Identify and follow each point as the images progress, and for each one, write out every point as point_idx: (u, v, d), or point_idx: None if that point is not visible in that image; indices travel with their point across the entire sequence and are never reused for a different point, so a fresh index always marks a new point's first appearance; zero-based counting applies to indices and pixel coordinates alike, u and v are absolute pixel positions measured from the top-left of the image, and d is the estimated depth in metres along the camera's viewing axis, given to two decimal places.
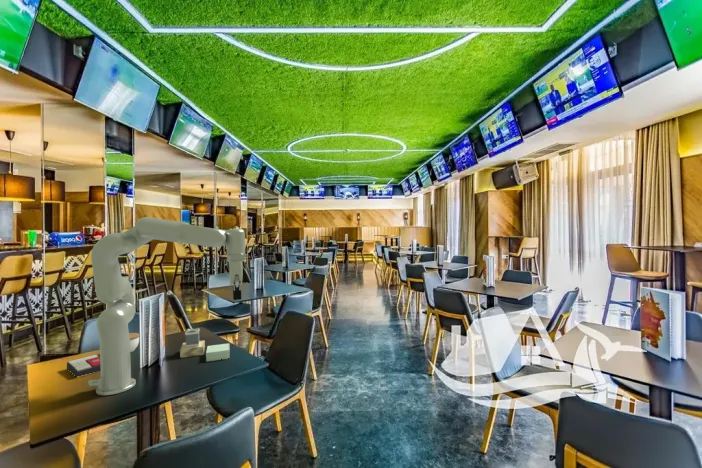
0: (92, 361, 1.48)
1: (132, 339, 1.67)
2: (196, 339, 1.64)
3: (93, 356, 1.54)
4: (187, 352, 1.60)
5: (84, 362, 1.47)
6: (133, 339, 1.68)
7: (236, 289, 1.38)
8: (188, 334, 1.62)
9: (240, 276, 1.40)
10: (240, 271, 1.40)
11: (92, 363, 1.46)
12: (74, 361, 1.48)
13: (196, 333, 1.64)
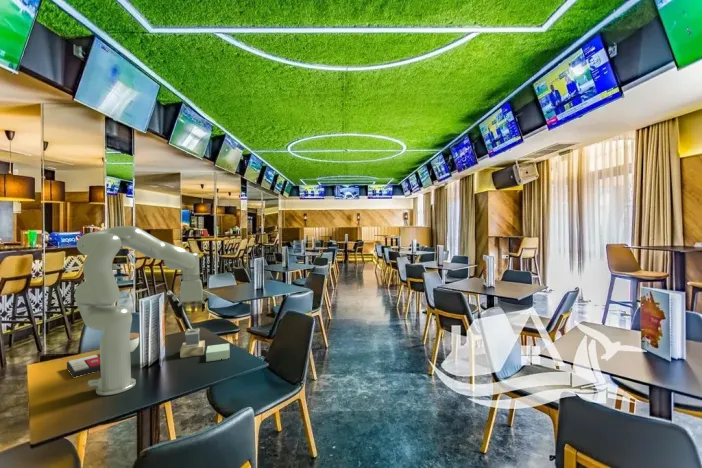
0: (91, 361, 1.48)
1: (132, 339, 1.67)
2: (196, 339, 1.64)
3: (93, 356, 1.54)
4: (187, 352, 1.60)
5: (83, 362, 1.47)
6: (133, 339, 1.68)
7: (205, 302, 1.67)
8: (188, 334, 1.62)
9: None
10: None
11: (90, 363, 1.46)
12: (74, 361, 1.48)
13: (196, 333, 1.64)
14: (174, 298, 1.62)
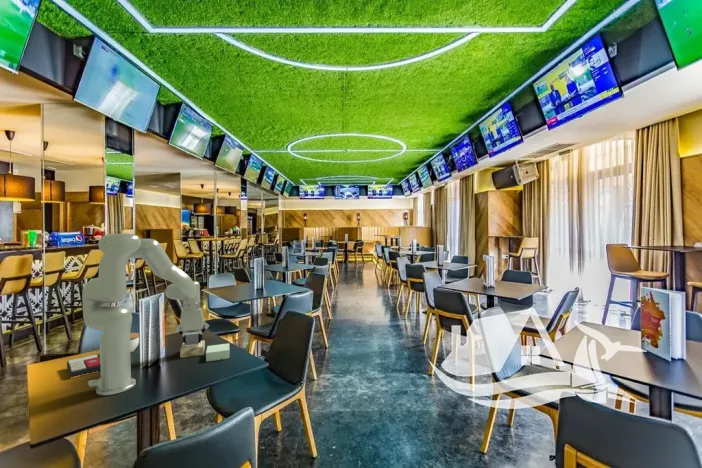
0: (89, 362, 1.47)
1: (132, 339, 1.67)
2: (196, 339, 1.64)
3: (93, 356, 1.54)
4: (187, 352, 1.60)
5: (81, 362, 1.47)
6: (133, 339, 1.68)
7: None
8: (188, 334, 1.62)
9: None
10: None
11: (88, 364, 1.45)
12: (73, 360, 1.49)
13: (196, 333, 1.64)
14: (177, 329, 1.63)
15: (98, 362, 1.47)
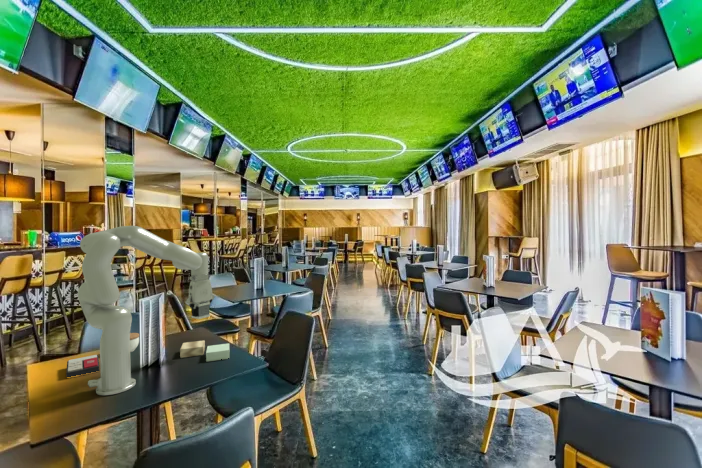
0: (87, 362, 1.47)
1: (132, 339, 1.67)
2: (207, 310, 1.64)
3: (93, 356, 1.54)
4: (187, 352, 1.60)
5: (80, 362, 1.47)
6: (133, 339, 1.68)
7: None
8: (201, 305, 1.61)
9: None
10: None
11: (85, 364, 1.45)
12: (73, 360, 1.49)
13: (207, 304, 1.64)
14: (188, 302, 1.58)
15: (95, 363, 1.46)
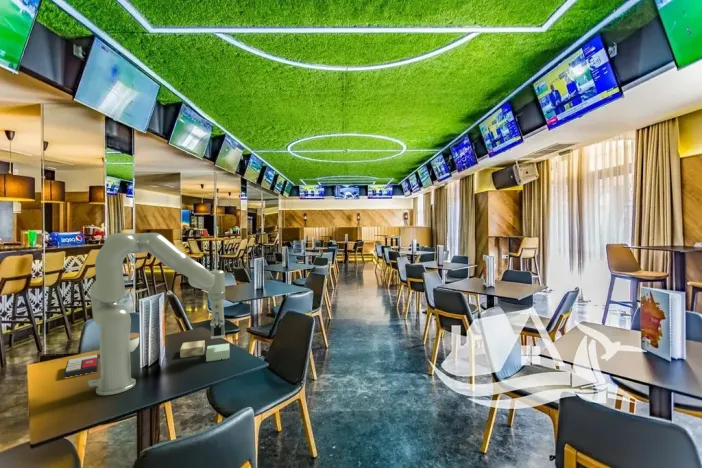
0: (86, 362, 1.47)
1: (132, 339, 1.67)
2: None
3: (93, 356, 1.54)
4: (187, 352, 1.60)
5: (79, 362, 1.47)
6: (133, 339, 1.68)
7: None
8: None
9: None
10: None
11: (84, 364, 1.45)
12: (73, 360, 1.49)
13: None
14: (218, 321, 1.54)
15: (94, 363, 1.46)
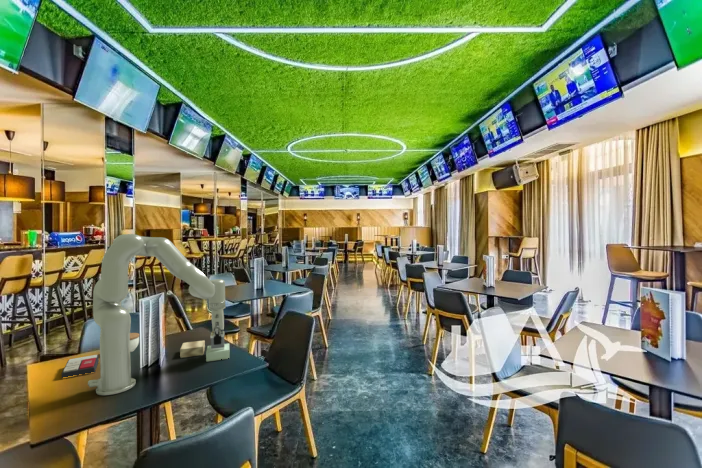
0: (84, 362, 1.47)
1: (132, 339, 1.67)
2: None
3: (93, 356, 1.54)
4: (187, 352, 1.60)
5: (78, 362, 1.47)
6: (133, 339, 1.68)
7: None
8: None
9: None
10: None
11: (82, 365, 1.44)
12: (73, 360, 1.50)
13: None
14: (218, 329, 1.53)
15: (92, 363, 1.46)
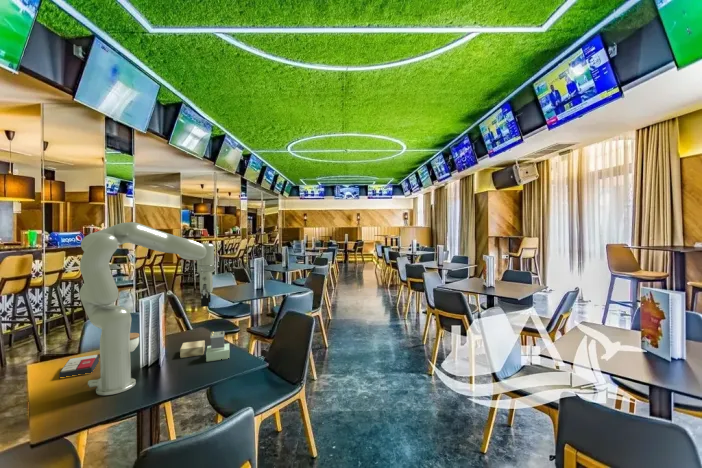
0: (83, 362, 1.47)
1: (132, 339, 1.67)
2: None
3: (92, 356, 1.54)
4: (187, 352, 1.60)
5: (77, 362, 1.47)
6: (133, 339, 1.68)
7: None
8: None
9: None
10: None
11: (80, 365, 1.44)
12: (73, 359, 1.50)
13: None
14: (205, 290, 1.55)
15: (89, 364, 1.45)
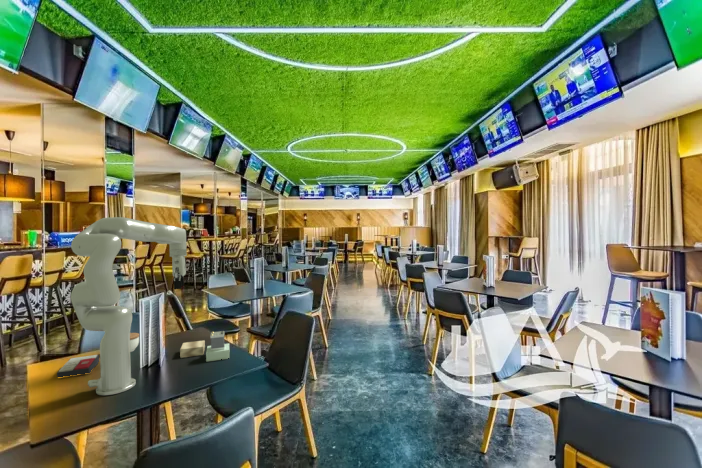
0: (82, 362, 1.47)
1: (132, 339, 1.67)
2: None
3: (92, 356, 1.54)
4: (187, 352, 1.60)
5: (76, 362, 1.47)
6: (133, 339, 1.68)
7: None
8: None
9: None
10: None
11: (78, 365, 1.44)
12: (73, 359, 1.51)
13: None
14: (177, 273, 1.60)
15: (87, 364, 1.45)
